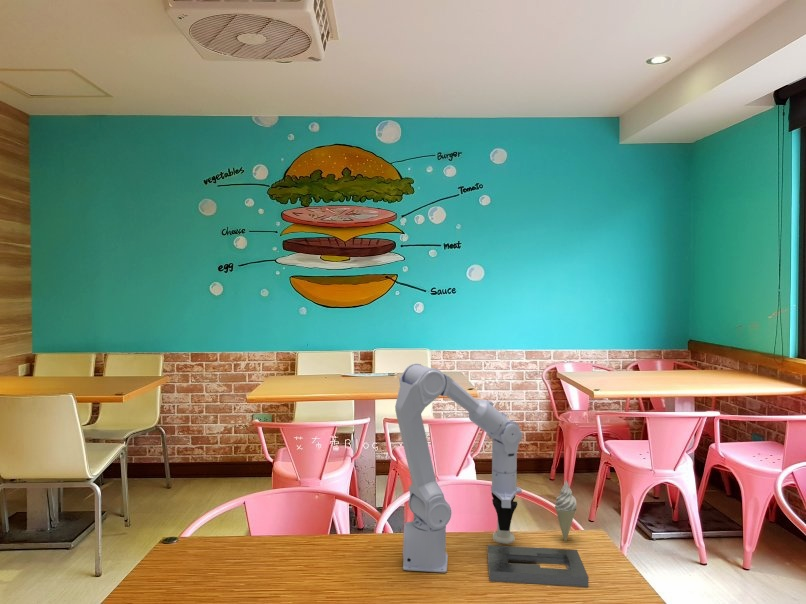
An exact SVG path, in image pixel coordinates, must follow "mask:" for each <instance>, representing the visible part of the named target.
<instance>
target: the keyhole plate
mask: <svg viewBox="0 0 806 604" xmlns="http://www.w3.org/2000/svg"><path fill="white" fill-rule="evenodd" d="M486 551H487V554H488V555H487V565H488V566H487V567H488V577H489V578H488V579H489V580H488V581H489V582H496V583H497V582H498V583H512V584H513V583H514V584H515V583H516V584H531V585H547V586H548V585H549V586H561V587H562V586H563V587H580V588H581V587H582V588H589V575H588V573H587V570H586V569H585V566H584V563H583V561H582V558H581V556H580V553H579V551H578V549H569V548H551V547H550V548H548V547H536V546H535V547H534V546H533V547H531V546H512V545H496V544H495V545H494V544H487V549H486ZM513 561H515V562H516V563H515V562H513ZM517 562H518V563H517ZM531 563H532V564H531ZM533 563H534V564H533ZM540 564H553V565H566V568H553V567H552V568H551V567H541V565H540Z"/></svg>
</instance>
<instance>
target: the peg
mask: <svg viewBox="0 0 806 604" xmlns="http://www.w3.org/2000/svg"><path fill="white" fill-rule="evenodd" d="M496 518H497V521H496V522H497V527H496V530H497V531H494V532H493V534H492V540H493V541H494V542H496V543H497V544H502V545H509V544H513V543H514V542H515V534H514V533H512V532H511V527H510V528H509V531H502V530H500V529H499V524H498V517H496Z"/></svg>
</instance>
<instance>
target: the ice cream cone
mask: <svg viewBox="0 0 806 604" xmlns="http://www.w3.org/2000/svg"><path fill="white" fill-rule="evenodd" d="M567 480H568V479H565V481H564V484H563V485H562V487H561V489H560V493H559V494H558V495H557V497H556V498H555V500H556V502H555V506H554V508H555V510H556V516H557V518H558V523H559V526H560V530H561V531H560V532H561V535H562V538H563V541H564V542H567V539H568V536H569V532H570V530H571V528H572V523H573V519H574V517H575V514H576V511H577V499H576V497H575V496H574V495H573V491H572V489H571V487H570V485H569V483H568V481H567Z"/></svg>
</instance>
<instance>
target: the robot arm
mask: <svg viewBox="0 0 806 604" xmlns="http://www.w3.org/2000/svg"><path fill="white" fill-rule="evenodd" d="M398 379H399V388H398V389H399V390H398V393H397V398H396V402H395V406H394V408H395V414H396V419H397V423H398V428H399V432H400V436H401V441H402V445H403V450H404V455H405V458H406V462H407V468H408V470H409V476H410V479H411V483H412V484H410V486H409V487H408V491H409V497H408V498H409V499H408V508H409V510H410V511H411V513H412V514H413V518H412V521H406V522H405V523H404V526H403V543H402V544H403V545H402V546H403V548H402V557H403V558H402V563H403V565H402V569H403V571H412V572H413V571H414V572H426V573H427V572H429V573H444V574H445V573H447V571H448V558H449V554H448V553H447V551H446V550H447V549H446V548H447V545H446V544H447V541H446V540H447V538H446V537H447V536H446V535H447V532H446V531H447V525H448V523H449V522H450V520H451V518H452V507H451V506H450V504H449V503H448V502H447V501H446V498H445V496H444V492H443V491H442V489H441V487H440V486H439V483H438V481H437V479H436V478H437V477H436V474H435V470H434V466H433V461H432V456H431V453H430V449H429V443H428V440H427V435H426V431H425V430H426V429H425V425H424V421H423V417H422V413H423V412H424V410H425V409H426V408H427V407H428V406H429V405H430V404H431V403H432V402H434V401H435V400H436V399H437V398H438V397H440V396H442V397H447V398H449V399H450V400H451V401H453V402H454V403H456V404H457V405H459V406H460V407H461V408H462V409H465V410H466V411H467V412H468V413H467V414H468V419H469V420H470V421H471V422H472V423H474V425H476V426H477V427H479V428H480V429H481V430H482V431H484V432H485V433H486V434H487V436H488V437H489V439H492V442H491V445H492V447H491V448H492V449H491V452H492V453H491V456H492V457H491V487H490V491H491V497H492V499H491V500H492V505H493V507H494V509H495V512H496V516H497V517H498V524H499V529H500V530H502V531H509V528H510V529H511V524H512V520H513V519H512V518H513V514H514V512H515V511H516V509H517V507H518V501H515V498H516V495H517V494H522V491H523V490H522V488H521V487H519V486H517V475H518V474H517V473H518V471H517V468H518V465H517V464H518V463H517V461H518V459H517V458H518V455H517V454H518V451H519V444H520V442H521V440H522V439H523V432H522V431H521V428H520V426H519V424H518V423H517V422H515V421H513V420H510V419H509V418H508V415H507V414H506V413H505V412H501V411H499V410H498V409H497V408H495V407H494V405H495V403H494V402H492V401H491V400H489V399H479V400H477V399H476V398H475V397H474V396H472V394H470V393H469V392H468V391H467V390H466V389H464V388H463V387H462V386H461V385H460V384H459V383H458V382H457V381H455V380H454V379H453V378H451V376H449V375H448V374H445V373H443V372H442V371H441V370H440V369H438V368H433V367H428V366H424V365H422V364H421V363H412V364H409V365H408V366H407V367H406V368H405V370H404V371H403V372H402V374H401V375H400V376H399V378H398ZM497 517H496V518H497Z"/></svg>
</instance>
